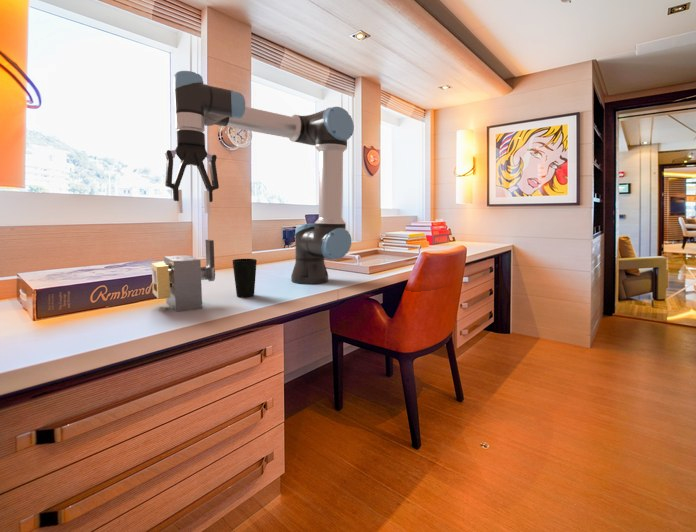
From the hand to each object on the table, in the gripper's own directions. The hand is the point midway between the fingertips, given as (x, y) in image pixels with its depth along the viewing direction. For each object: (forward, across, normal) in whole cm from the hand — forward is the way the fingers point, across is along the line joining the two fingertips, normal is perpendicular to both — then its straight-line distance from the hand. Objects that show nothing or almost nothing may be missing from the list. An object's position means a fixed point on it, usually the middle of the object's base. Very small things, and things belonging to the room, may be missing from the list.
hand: (194, 213), depth 109 cm
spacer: (+24, +10, 0) cm, 25 cm away
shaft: (+21, +3, 0) cm, 21 cm away
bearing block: (+27, +4, 0) cm, 27 cm away
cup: (+27, -16, -2) cm, 32 cm away
